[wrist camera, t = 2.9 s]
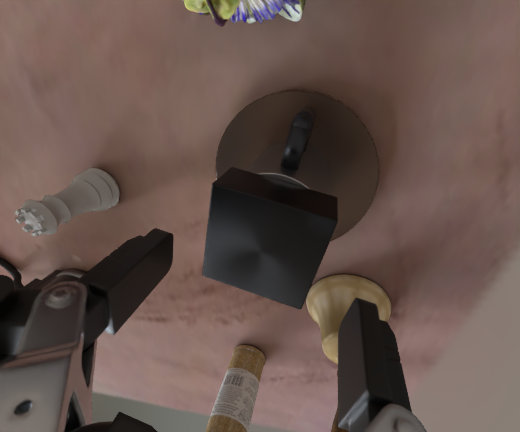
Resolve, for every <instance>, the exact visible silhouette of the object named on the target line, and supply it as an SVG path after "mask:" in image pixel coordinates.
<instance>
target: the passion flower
mask: <svg viewBox="0 0 520 432" xmlns="http://www.w3.org/2000/svg"><path fill="white" fill-rule="evenodd" d="M184 5H185V7H186V8H187V9H188V10H189V11H194V12H197V13H199V14H201V15H202V14H204V15H209V14H210V13H211V15H212V18H213V21H214V22H215V23H216V24H217V25H219V26H221V27H222V26H224V25H225V22H226V21H227V19H231V21H232V22H233V23H236V22H237V21H241V20H243V21H244V22H247V23H249V24H251V23H253V22H256V21H257V20H259V22H260V23H261V24H262V22H263V20H264V19H266V20H268V19H271V20H272V19H274V17H275V15H276V14H277V13H278V14H280V15H281V16H283V17H284V18H286V19H288V20H290V21H296V22H297V21H299V20H300V19H301V17H302V13H303V10H304V5H305V0H184Z"/></svg>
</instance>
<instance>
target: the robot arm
mask: <svg viewBox="0 0 520 432" xmlns="http://www.w3.org/2000/svg"><path fill="white" fill-rule="evenodd" d="M172 260H173V234H171V233H168V232H166V231H163V230H160V229H157V228H155V229H153V230H152V231H150V232H149V233H148V234H147V235H146V236H144V237H143V236H137V237H135V238H132V239H130V240H127V241H126V242H125V243H124V244H122V245H121V246H120V247H118V249H117V250H115V251H113V252H112V253H111V254H110V256H107V257H106V258H104V259H103V260H102V261H101V262H99V263H98V264H97V265H96V266H94V267H93V268H92V269H90V270H89V271H88V272H87V273H85V272H83V271H80V270H75V269H67V270H64V271H60V270H55V271H54V272H53V273H51V274H50V275H48V276H47V277H45V278H44V279H43V280H39V279H37V278H36V279H34V280H33V281H31V282H30V283H29V284H27V285H26V286H23V285H22V283H21V274H20V273H19V272H18V271H17V270H16V269H15V268H14V267H13V266H12V265H11V264H9V263H8V262H7V261H5V260H4V259H2V258H1V257H0V265H1V266H2V267H3V268H5V269H6V270H7V271H8V272H9V273H10V274H11V275H12V276H13V278H14V281H13V280H12V279H11V278H10V277H7V276H4V275H0V432H157V431H156V430H155V429H154V428H153V427H152V426H150V425H148V424H146V423H144V422H141V421H139V420H137V419H134V418H132V417H130V416H128V415H125V414H123V413H121V412H119V413H118V414H117V416H116V418H115V419H114V421H113V422H98V423H93V424H92V385H93V376H94V367H95V358H96V348H97V338H98V337H99V336H100V335H101V333H102V332H103V331H106V332H108V333H111V334H113V335H114V334H115V333H116V332H117V331H118V330H119V329H120V328H121V326H122V325H123V324H124V323H125V322H126V321H127V319H128V318H129V317H130V316H131V315H132V314H133V312H134V311H135V310H136V309H137V308H138V307H139V305H140V304H141V303H142V302H143V301H144V300H145V298H146V297H147V296H148V295H149V294H150V293H151V292H152V290H153V289H154V288H155V287H156V286H157V285H158V283H159V282H160V281H161V280H162V279H163V278H164V276H165V275H166V274H167V273H168V271H169V269H170V267H171V265H172ZM397 350H398V347H397V343H396V338H395V335H394V333H393V331H392V330H391V328H390V326H389V325H388V323H387V322H386V321H383V320H380V319H379V313H378V307H377V305H376V304H375V303H372V302H369V301H366V300H363V299H360V298H355V299H354V301H353V302H352V304H351V306H350V307H349V309H348V311H347V313H346V314H345V316H344V318H343V320H342V322H341V324H340V327H339V332H338V427H340V428H342V429H345V430H347V431H349V432H427V431H426V430H425V428H424V426H423V425H422V423H421V422H420V421H419V420H418V419H417V417H416V416H415V415H414V414H413V413H412V410H411V407H410V402H409V397H408V393H407V388H406V384H405V379H404V375H403V370H402V365H401V363H400V356H399V352H398V351H397Z"/></svg>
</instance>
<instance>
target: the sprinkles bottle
mask: <svg viewBox="0 0 520 432" xmlns="http://www.w3.org/2000/svg"><path fill="white" fill-rule="evenodd" d="M264 365H265V357H264V355H263V353H262V352H261V351H259V350H258V349H257V348H255V347H253V346H250V345H240V346H237V347H236V348H235V349H234V351H233V356H232V359H231V362H230V365H229V367H228V370H227V372H226V374H225V377H224V380H223V383H222V385H221V388H220V391H219V393H218V396H217V399H216V401H215V404H214V407H213V410H212V412H211V416H210V420H209V422H208V425H207V428H206V430H205V432H248V428H249V425H250V421H251V417H252V413H253V408H254V404H255V400H256V396H257V392H258V388H259V382H260V378H261V374H262V370H263V366H264Z"/></svg>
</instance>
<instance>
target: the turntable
mask: <svg viewBox="0 0 520 432" xmlns="http://www.w3.org/2000/svg"><path fill="white" fill-rule="evenodd" d="M305 107H312V108H313V109H314V110H315V112H316V117H315V120H314V124H313V127H312V130H311V134H310V137H309V141H308V144H307V145H309V146H311V147H313V148H314V149H316V150H317V151H318V152H319V153H320V154H321V155H322V156H323V157H324V159H325V160H326V162H327V164H328V166H329V169H330V174H331V191H330V195H332V196H335V197H337V198H338V223H337V225H336V228H335V230H334V233H333V235H332V237H331V240H330V241H332V240H334V239H336V238H338V237H340V236H342V235H343V234H345V233H346V232H348V231H349V230H350V229H352V228H353V227H354V226H355V225H356V224H357V223H358V222H359V221H360V220H361V219H362V217H363V216H364V215H365V213H366V212H367V210H368V209H369V207H370V205H371V203H372V201H373V198H374V196H375V193H376V189H377V185H378V178H379V163H378V156H377V152H376V148H375V145H374V143H373V140H372V138H371V136H370V134H369V132H368V130H367V129H366V127H365V125H364V124H363V123H362V121H361V120H360V119H359V118H358V116H357V115H356V114H355V113H354V112H353V111H351V110H350V109H349V108H348V107H347V106H345V105H344V104H342V103H341V102H340V101H338V100H336V99H334V98H332V97H330V96H328V95H324V94H321V93H318V92H314V91H308V90H287V91H281V92H277V93H273V94H270V95H267V96H264V97H262V98H260V99H258V100H256V101H254V102H253V103H251V104H249V105H248V106H246V107H245V108H244V109H243V110H242V111H240V112H239V113H238V114H237V115H236V117H235V118H234V119H233V120H232V121H231V122H230V124H229V125H228V127H227V128H226V130H225V132H224V134H223V136H222V138H221V141H220V144H219V147H218V152H217V157H216V177H217V179H218V178H219V177H220V176H221V175H223V174H224V173H225V172H226V171H227V170H228V169H229V168H231V167H235V168H238V169H242V170H245V171H247V170H248V168H249V167H250V166H251V165H252V164H253V163H254V162H255V161H256V160H257V159H258V158H259V157H260V156H261V155H262V153H263V152H265V151H266V150H267V149H268V148H270V147H271V146H273V145H275V144H277V143H280V142H285V141H286V140H287V136H288V132H289V128H290V124H291V121H292V120H293V118H294V117H295V116H296V115H297V114H298V113H299V112H300V111H301V110H302V109H303V108H305Z"/></svg>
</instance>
